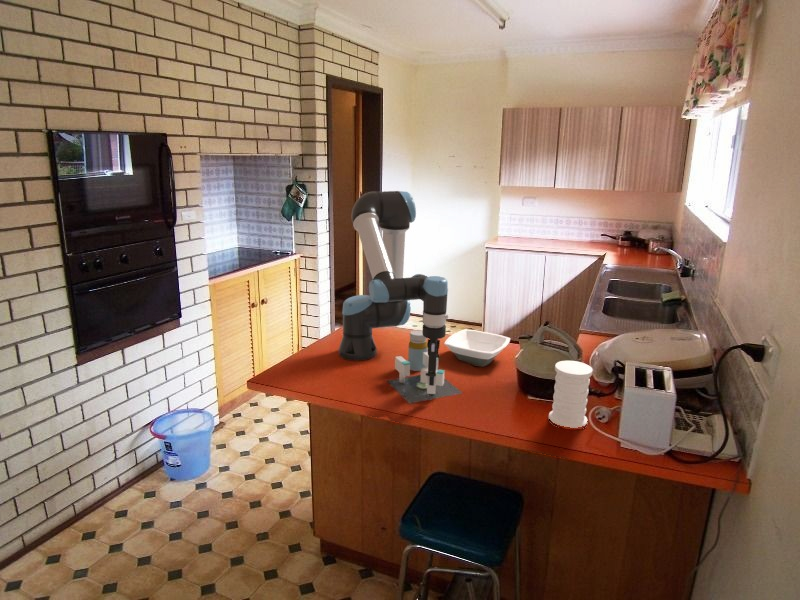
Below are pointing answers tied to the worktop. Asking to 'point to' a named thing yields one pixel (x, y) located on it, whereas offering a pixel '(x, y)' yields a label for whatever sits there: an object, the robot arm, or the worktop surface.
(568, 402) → the decorative container
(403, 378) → the knob near
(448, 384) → the plate
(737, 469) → the worktop surface
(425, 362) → the knob far
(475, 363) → the bowl
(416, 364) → the bottle
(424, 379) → the knob front
